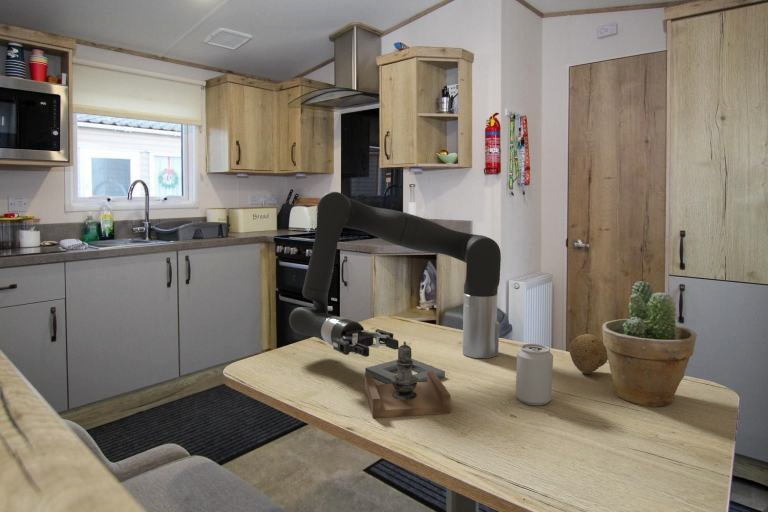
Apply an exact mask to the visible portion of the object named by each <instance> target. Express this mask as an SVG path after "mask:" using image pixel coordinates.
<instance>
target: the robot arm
mask: <svg viewBox="0 0 768 512" xmlns="http://www.w3.org/2000/svg"><path fill="white" fill-rule="evenodd" d="M316 212H317V213H316V227H315V229H316V230H315V236H314V242H313V247H312V251H311V253H310V254H311V255H310V259H309V262H308V266H307V270H306V274H305V279H304V283H303V287H302V292H301V293H302V296H303V298H305V299H307V300H309V301H312V305H313V306H312V307H305V306H300V307H299V306H298V307H296V308H294V309H293V310H292V311H291V312H290V314H289V317H288V323H289V327H290V328H291V329H292V331H293V332H294V333H296V334H300V335H302V336H303V335H304V336H306V337H307V336H308V337H314V338H316V339H319V340H321V341H323V342H326V343H328V345H330V346H333V350H335V351H337V352H338V353H341V354H343V355H345V356H347V355H350V353H351V354H352V355H360V356H362V357H365V358H367V357H368V358H369V356H370V348H379V347H386V348H388V349H393V350H394V351H396V350H398V348H399V347H400V345H399V340H398V339H396V338H394V333H393V332H389V331H387V330H382V329H380V328H379V329H378V328H377V329H375V331H369V330H365V329H364V327H363V325H362V324H361V323H360V322H358V321H354V320H351V319H349V318H345V317H342V316H338V315H334V314H330V313H329V306H328V305H329V303H328V302H329V301H328V298H329V296H328V295H329V290H330V287H331V284H332V283H331V282H332V278H333V272H334V268H335V259H336V253H337V247H338V243H339V240H340V237H341V234H342V231H343V229H344V228H347V229H352V230H357V231H362V232H365V233H368V234H369V235H372V236H374V237H376V238H378V239H381V240H383V241H384V242H388V243H391V244H393V245H396V246H400V247H403V248H405V249H410V250H413V251H419V252H425V253H433V254H440V255H445V256H448V257H452V258H453V259H456V260H459V261H461V262H464V263H466V266H465V267H466V268H465V269H466V270H465V271H466V273H465V282H464V285H463V309H462V310H463V312H462V313H463V315H462V317H463V318H462V319H463V320H462V355H464V356H466V357H469V358H475V359H490V358H493V357H498V356H499V347H500V346H499V343H500V341H499V339H500V321H498V320H497V319H498V290H499V286H500V282H501V281H500V280H501V266H502V265H501V262H502V259H501V258H502V252H501V248H500V246H499V244H498V243H497V241H495V240H494V239H492V238H491V237H488V236H485V235H481V234H473V233H468V232H464V231H459V230H458V231H457V230H453V229H451V228H448V227H446V226H443V225H442V224H439V223H437V222H435V221H432V220H429V219H427V218H424V217H421V216H419V215H414V214H411V213H407V212H404V211H399V210H395V209H388V208H381V207H376V206H370V205H368V204H364V203H362V202H359V201H357V200H355V199H352V198H350V197H348V196H346V195H345V194H343V193H341V192H338V191H329V192H326V193H325V194H323V195H322V196H321V197H320V198H319V200H318V202H317V206H316ZM374 339H375V340H374ZM374 341H375V343H374Z"/></svg>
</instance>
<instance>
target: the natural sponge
mask: <svg viewBox="0 0 768 512" xmlns="http://www.w3.org/2000/svg"><path fill="white" fill-rule="evenodd" d="M569 344H570V345H569V350H568V351H569V354H570V358H571V361H572V362H573V365H574V366H575V367H576V368H577V370H579V372H581V373H583V374H584V375H589V374H592V373H594V372H595V371H597V370H598V369H599V368H601V367H603V366H604V365H605V364H607V362H608V356H607V350H606V347H605V346H604V345H603V340H602V339H600V338H599V337H597V336H596V335H593V334H591V333H585V334H580V335H578V336H576V337H575V338H573V340H572V341H571V342H570V343H569Z"/></svg>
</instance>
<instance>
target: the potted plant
mask: <svg viewBox="0 0 768 512" xmlns="http://www.w3.org/2000/svg"><path fill="white" fill-rule="evenodd" d="M631 288H632V289H631V292H632V293H631V295H630V296H629V303H628V310H629V311H628V312H629V314H628V318H620V319H613V320H609V321H605V322H604V323H603V324H602V327H601V329H602V338H603V339H602V342H603V345H604V346H605V347H606V350H607V356H608V359H607V362H608V364H609V370H610V374H611V378H612V379H611V380H612V382H613V388H614V391H615V394H616V395H617V397H619V398H620V399H621V400H624V401H627V402H628V403H632V404H634V405H639V406H641V407H642V406H643V407H651V408H656V407H666V406H669V405H670V404H671V403H672V402H673V400H674V397H675V395H676V392H677V390H678V387H679V386H680V383H681V381H682V380H683V378H684V377H685V372H686V370H687V367H688V363H689V361H690V358H691V357H692V356H693V355H694V350H695V345H696V340H697V336H698V334H697V333H696V332H694V331H693V330H692V329H691V328H688V327H685V326H683V325H680V324H676V315H677V313H676V311H677V307H676V301H675V300H674V297H672V296H671V294H668V293H666V292H653V288H652V285H651V284H650V283H649V282H647V281H636V282H634V284H633V285H632V287H631Z"/></svg>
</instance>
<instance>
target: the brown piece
mask: <svg viewBox="0 0 768 512" xmlns="http://www.w3.org/2000/svg"><path fill="white" fill-rule="evenodd" d="M395 391H396V389H395V388H394V386H393V384H387V383H383V384H376V383H375V379H374V377H372V375H371V374H368V375H367V374H364V394H365V396H366V400H367V403H368V407H369V411H370V413H371V417H372V419H377V418H378V419H379V418H392V417H393V418H394V417H395V418H396V417H408V416H409V417H410V416H411V417H413V416H423V415H424V416H425V415H441V414H450V413H451V393H450V391H448V390H447V388H446V387H445V385H444V384H443V382H442V381H441V379H439V378H438V377H437V375H436V374H435V373H434V371H427V382H417V384H416V387H415V388H414V389H413V390H412V391H414V392H415V393H416V394H417V396H416V397H415V398H413V399H409V400H400V399H396V398H394V397H393V396H392V394H393V392H395Z"/></svg>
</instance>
